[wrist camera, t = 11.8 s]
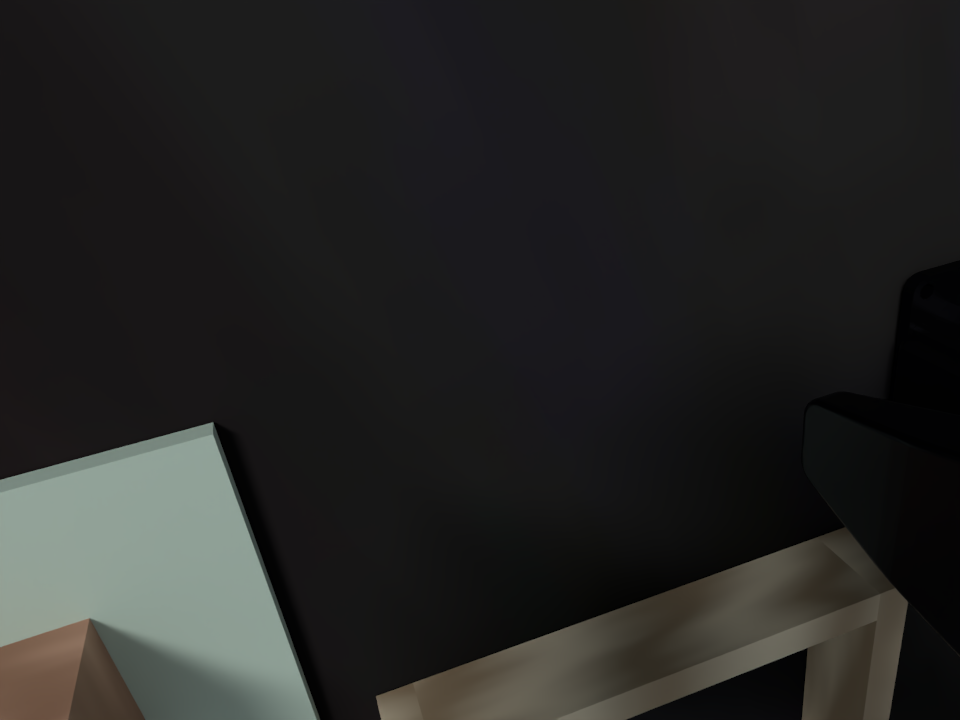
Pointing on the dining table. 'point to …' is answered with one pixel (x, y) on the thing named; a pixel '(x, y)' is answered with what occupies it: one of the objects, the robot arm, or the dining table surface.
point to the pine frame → (695, 646)
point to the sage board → (153, 578)
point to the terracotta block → (63, 678)
